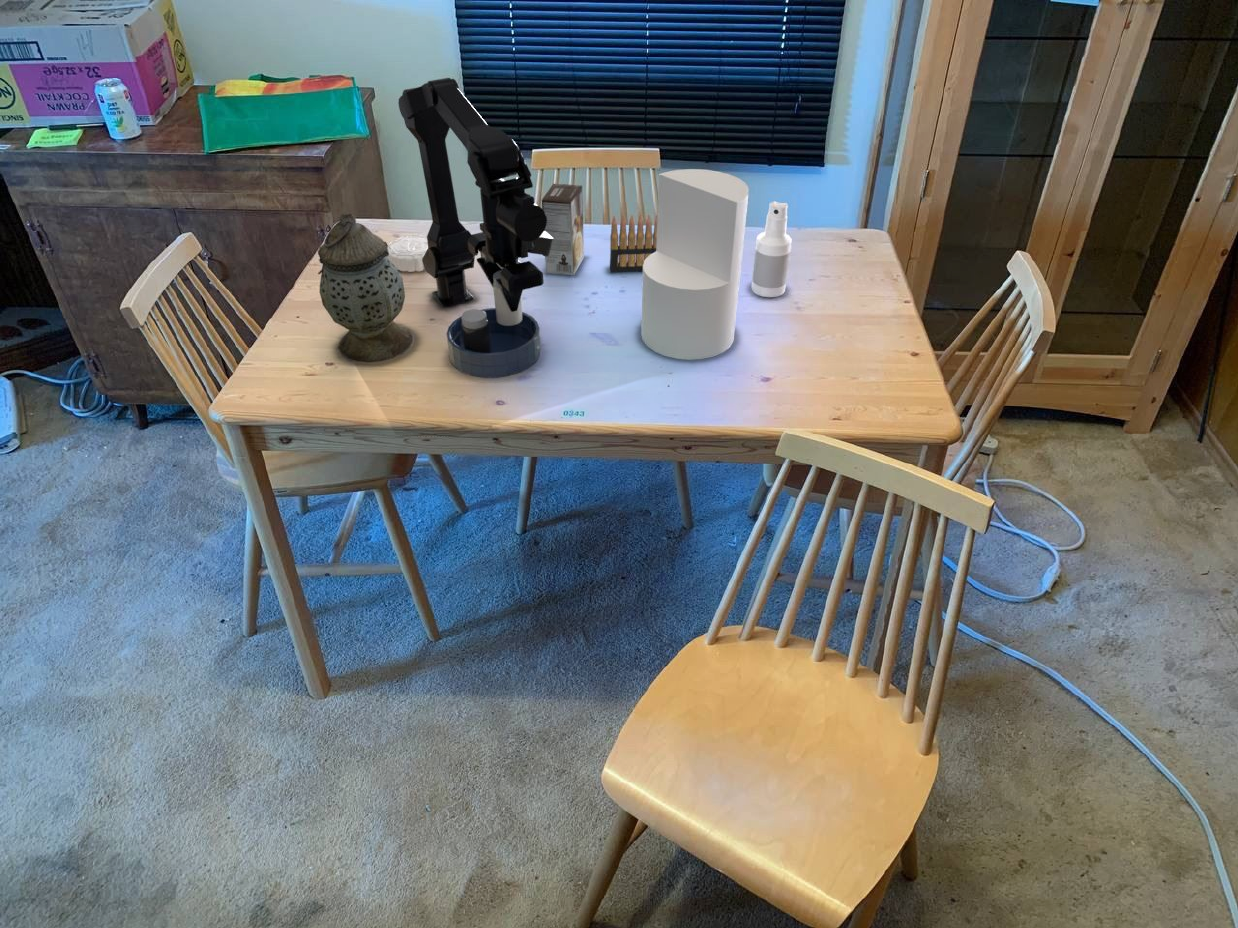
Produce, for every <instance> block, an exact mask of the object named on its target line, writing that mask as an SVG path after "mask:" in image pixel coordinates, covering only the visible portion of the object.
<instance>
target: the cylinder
mask: <svg viewBox="0 0 1238 928" xmlns="http://www.w3.org/2000/svg"><path fill="white" fill-rule="evenodd" d="M657 186H658V188H657V214H656V216H657V244H656V252H654V253H652V254H651V255H649V256H648V257H647V258H646V259H645V260H644V264H643V272H642V281H641V282H642V286H641V326H640V327H641V328H640V334H641V339H642V342H643V343H644V344H645V346H646V347H647V348H648V349H650V350H652V351H653V352H654V353H656V354H659V355H662V356H664V357H668V358H672V359H677V360H687V361H688V360H689V361H693V360H694V361H695V360H704V359H709V358H713V357H716V356H718V355H721V354H723V353H724V352H726V351H728V349H730V348H731V346H732V344H733V343H734V339H735V332H736V331H735V330H736V319H737V311H738V310H737V309H738V302H739V301H738V300H739V292H740V291H739V290H740V280H741V271H742V263H743V251H744V243H745V233H746V232H745V231H746V222H747V214H748V213H747V212H748V202H749V192H750V188H749V186H748V185H747V183H746V182H745V181H743V180H742V179H741V178H739V177H736V176H734V175H733V174H729V173H726V172H722V171H718V170H717V171H716V170H711V169H700V168H699V169H698V168H687V169H676V170H670V171H665V172H662V173H658V185H657Z"/></svg>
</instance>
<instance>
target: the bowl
mask: <svg viewBox="0 0 1238 928" xmlns="http://www.w3.org/2000/svg"><path fill="white" fill-rule="evenodd" d="M481 310H482V311H484V312H485V313H486V315H487V320H488V325H489V334H490V344H491V353H479V352H472V351H469V350H466V349H465V348H464V340H463V332H462V325H461V324H462V318H461V316H459V317H458V318H456V319H455V320H453V321H452V322H451V324H450V325H449V326H448V327H447V330H446V340H447V347H448V355H449V360H450V362H451V364H452V365H453V366H454V368H456V370H459V371H460V372H461V373H464V374H467V375H469V376H473V377H479V378H503V377H509V376H513V375H515V374H516V375H517V374H520V373H521V372H524V371H525V370H528V369H529V368H531V367H532V366H534V364H536V363H537V361H538V360H539V359H540V357H541V353H542V345H541V329H540V325H539V322H538V321H537V320H536V319H535V318H534V317H533V316H531V315H530V314H528V313H526V312H524V311H522V317H523V319H522V321H521V322H520V323H518V324H516V325H511V326H505V325H501V324H499V323H498V322H497V320H496V310H495V307H491V308H483V309H482V308H481Z"/></svg>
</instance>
